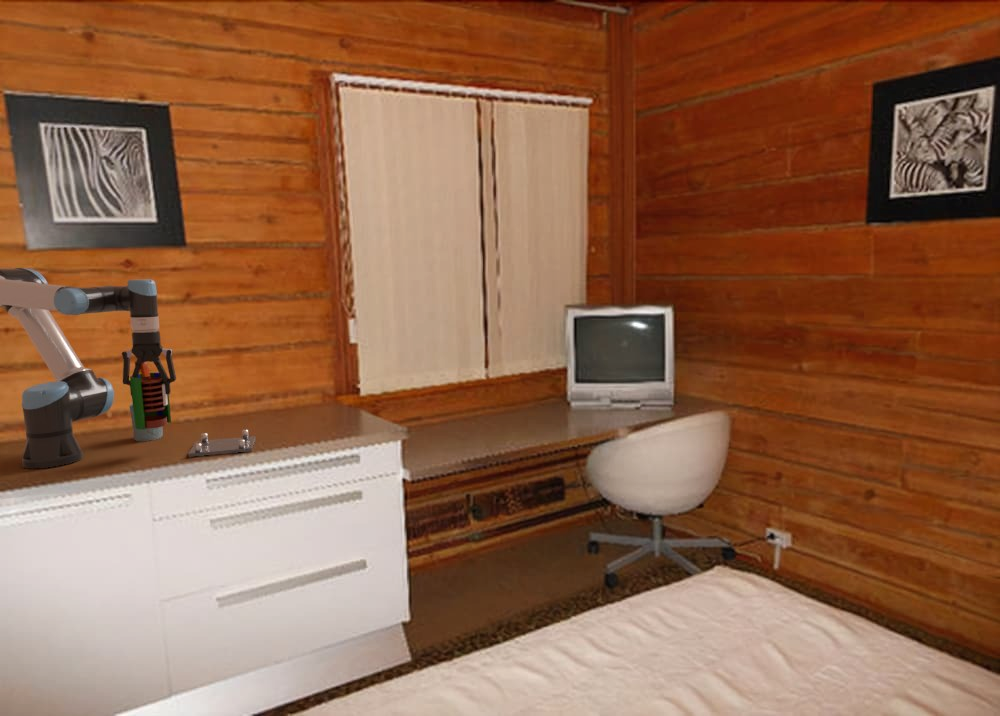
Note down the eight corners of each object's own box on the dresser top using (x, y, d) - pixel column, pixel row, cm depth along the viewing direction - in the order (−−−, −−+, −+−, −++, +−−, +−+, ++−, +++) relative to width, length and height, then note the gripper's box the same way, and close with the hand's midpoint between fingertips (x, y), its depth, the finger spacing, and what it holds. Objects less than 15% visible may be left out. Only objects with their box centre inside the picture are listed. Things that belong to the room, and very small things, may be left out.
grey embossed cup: (133, 437, 235) (129, 402, 233) (165, 433, 239) (162, 399, 238) (132, 443, 226) (129, 407, 224) (166, 439, 230) (163, 404, 229)
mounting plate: (188, 457, 207) (187, 445, 206) (196, 444, 222) (195, 433, 221) (251, 451, 211) (250, 440, 211) (255, 439, 227) (254, 428, 226)
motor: (153, 429, 205) (146, 363, 202) (127, 429, 206) (119, 363, 203) (175, 421, 214) (169, 358, 211) (150, 421, 216) (143, 358, 213)
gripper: (105, 333, 200) (112, 410, 203) (179, 330, 206) (185, 405, 209) (112, 331, 207) (119, 405, 211) (183, 328, 213) (189, 401, 216)
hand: (151, 405), depth 210 cm, fingers closed on motor, 7 cm apart
